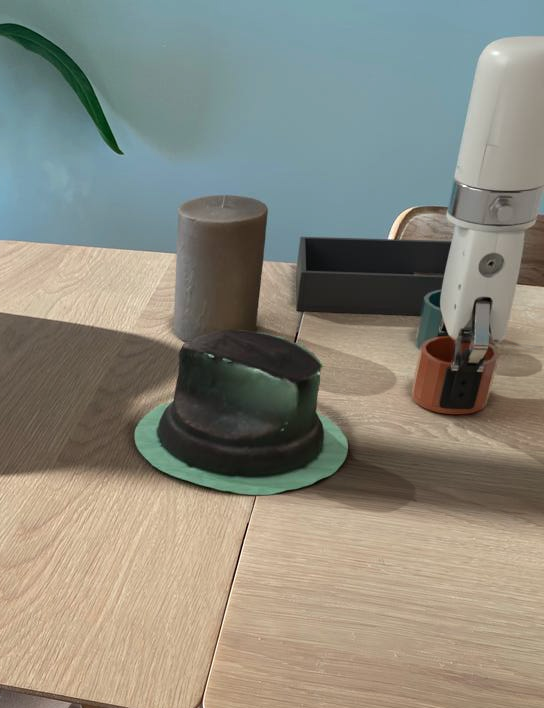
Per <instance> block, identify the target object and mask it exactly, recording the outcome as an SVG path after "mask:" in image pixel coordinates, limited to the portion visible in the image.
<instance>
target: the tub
mask: <svg viewBox="0 0 544 708" xmlns="http://www.w3.org/2000/svg"><path fill="white" fill-rule="evenodd" d="M451 243H452V240H429V239H428V240H427V239H399V238H398V239H393V238H364V237H363V238H361V237H359V238H358V237H326V236H325V237H323V236H300V237H299V245H298V253H297V254H298V255H297V261H296V269H295V310H296V311H297V312H317V313H318V312H319V313H341V314H343V313H344V314H367V315H368V314H369V315H388V316H389V315H392V316H416V317H418V316H419V317H420V313H421V308H422V304H423V299H424V297H425V296H426V295H427V294H428V293H430V292H433V291H436V290H442V285H443V279H444V274H445V269H446V265H447V260H448V255H449V251H450V247H451ZM414 273H416V274H414ZM435 274H436V275H435ZM439 274H442V275H439Z"/></svg>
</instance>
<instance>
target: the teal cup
mask: <svg viewBox="0 0 544 708" xmlns="http://www.w3.org/2000/svg"><path fill="white" fill-rule="evenodd" d="M441 291H442V290H436V291H433V292H430V293H428V294H427V295H426V296H425V297H424V299H423V304H422V308H421V313H420V316H419V317H418V318H419V319H418V323H417V328H416V332H415V340H414V344H415V346H416V348H417V349H418V350H420V347H421V345H422V344H423V343H424V342H425V341H426V340H429V339H432V338H434V337H437V333H444V332H440V331H439V328H440V322H441V319H442V312H441V308H440V298H441ZM464 334H471V336H472V330H469V332H468V333H464Z"/></svg>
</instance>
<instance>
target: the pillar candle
mask: <svg viewBox="0 0 544 708" xmlns="http://www.w3.org/2000/svg"><path fill="white" fill-rule="evenodd" d="M268 212H269V209H268V206H267V204H266V203H265V202H262V200H261V201H260V200H259V199H256V198H253V197H249V196H241V195H233V194H232V195H231V194H219V195H218V194H217V195H216V194H215V195H206V196H200V197H199V196H197V197H194V198H190V199H188V200H186V201H183V203H181V204H179V205H178V207H177V236H176V237H177V238H176V261H175V280H174V281H175V282H174V305H173V307H174V308H173V331H174V334H175V335H176V337H177V338H178V339H179V340H181V341H182V342H185V343H186V342H188V341H189V340H192V339H194V338H197V337H199V336H202V335H206V334H209V333H212V332H216V331H224V330H245V331H253V332H258V327H257V322H258V313H259V303H260V294H261V286H262V285H261V284H262V274H263V266H264V257H265V247H266V235H267V224H268V214H269V213H268Z"/></svg>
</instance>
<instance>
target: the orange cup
mask: <svg viewBox="0 0 544 708" xmlns="http://www.w3.org/2000/svg"><path fill="white" fill-rule="evenodd" d="M453 345H454V340H453V339H452V338H451V337H450V336H441V337H434V338H432V339H429V340H426V341H425V342H424V343H423V344H422V345H421V347H420V349H419V351H418V357H417V361H416V367H415V371H414V376H413V380H412V384H411V385H412V386H411V390H412V391H411V399H412V400H413V401H414V402H415V404H417V405H418V406H419V407H422V408H424V409H426V410H429V411H432V412H435V413H440V414H447V415H467V414H472V413H476V412H478V411H480V410H483V409H484V408H485V407H486V406H487V403H488V400H489V398H490V393H491V390H492V386H493V383H494V378H495V376H496V371H497V368H498V363H499V360H500V356H501V355H500V352H499V349H498V348H497V347H495V346H494V345H493V344H491V343H490V342H489V345H488V349H487V352H486V356H485V357H486V359H485V364H484V369H483V374H482V378H481V382H480V386H479V390H478V394H477V398H476V402H475V406H474V407H473V408H472V409H449V408H441V407H440V405H439V400H440V396H441V391H442V387H443V382H444V378H445V373H446V369H447V367H451V361H452V353H453ZM469 345H470V344H463V343H462V347H461V355H462V353H463V352H464V350H465V349H466V350H469ZM461 355H460V356H461Z"/></svg>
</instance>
